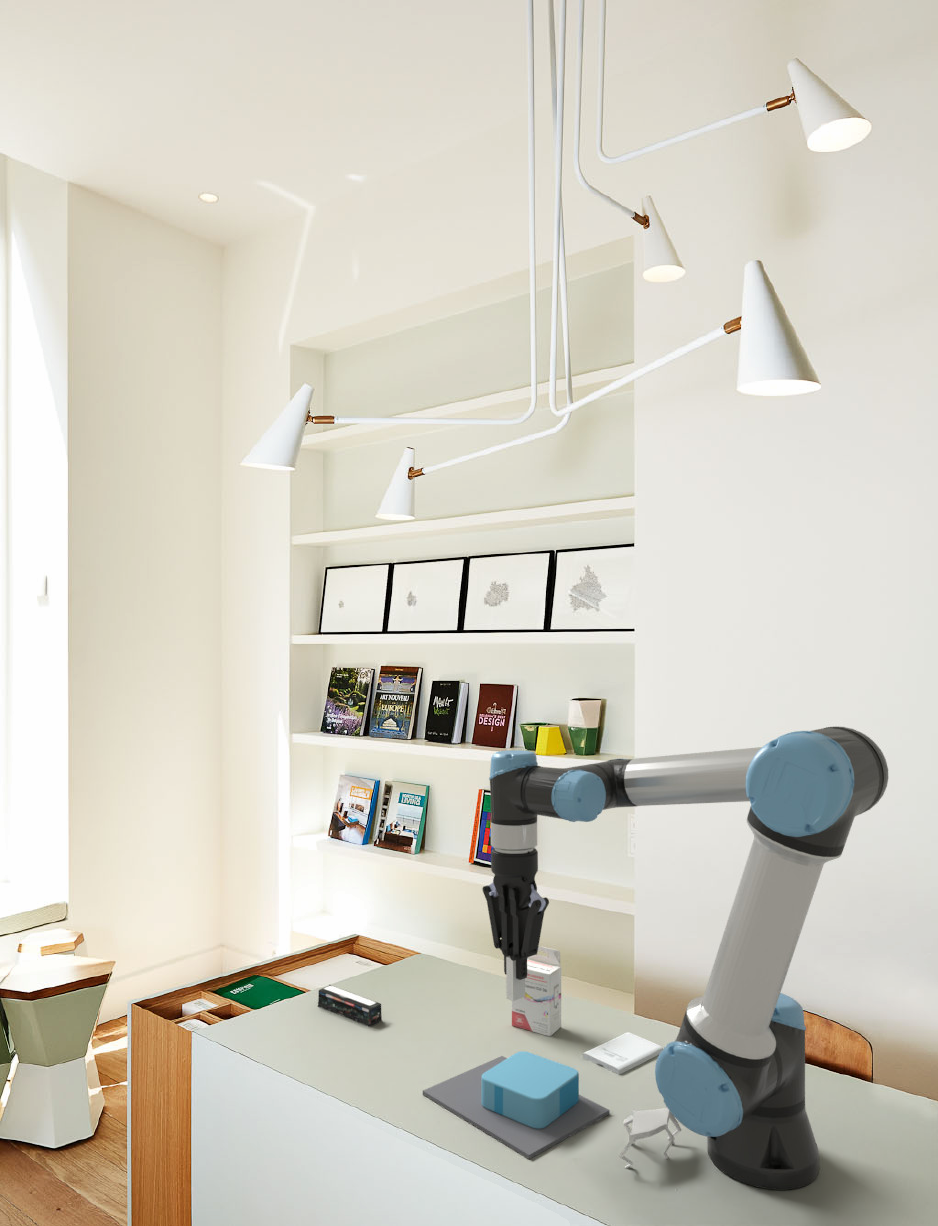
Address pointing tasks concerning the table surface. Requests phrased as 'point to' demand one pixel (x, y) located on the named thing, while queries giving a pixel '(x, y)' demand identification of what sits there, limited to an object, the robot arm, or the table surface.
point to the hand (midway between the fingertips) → (515, 997)
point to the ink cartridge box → (540, 995)
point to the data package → (530, 1089)
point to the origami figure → (648, 1127)
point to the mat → (529, 1142)
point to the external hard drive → (623, 1053)
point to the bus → (350, 1005)
